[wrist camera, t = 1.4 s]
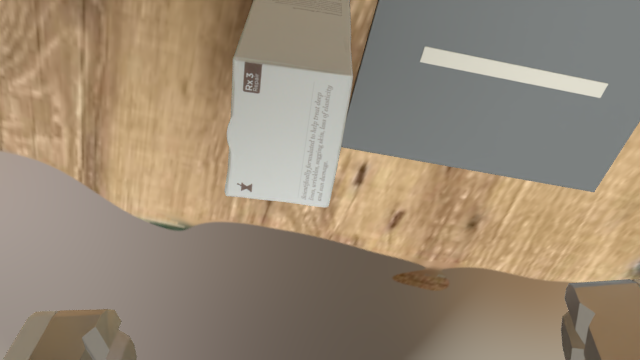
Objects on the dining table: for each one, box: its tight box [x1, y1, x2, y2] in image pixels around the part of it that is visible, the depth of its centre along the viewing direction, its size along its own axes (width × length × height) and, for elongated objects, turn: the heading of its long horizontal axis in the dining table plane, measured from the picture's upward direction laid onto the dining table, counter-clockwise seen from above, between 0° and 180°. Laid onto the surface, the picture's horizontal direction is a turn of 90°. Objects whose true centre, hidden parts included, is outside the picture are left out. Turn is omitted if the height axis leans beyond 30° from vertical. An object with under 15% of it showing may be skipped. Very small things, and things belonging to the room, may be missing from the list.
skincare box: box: [225, 0, 353, 207], centre depth 35 cm, size 8×6×15 cm
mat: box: [341, 0, 640, 192], centre depth 42 cm, size 22×18×1 cm
